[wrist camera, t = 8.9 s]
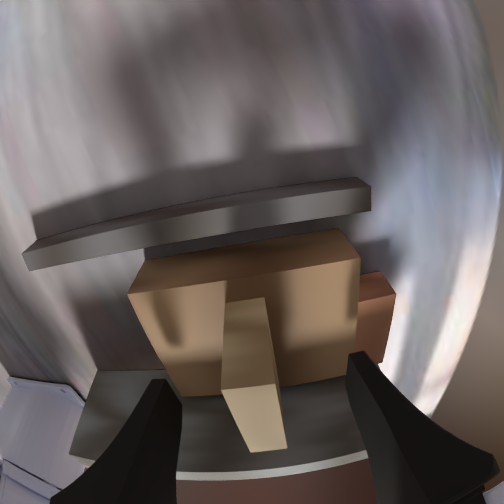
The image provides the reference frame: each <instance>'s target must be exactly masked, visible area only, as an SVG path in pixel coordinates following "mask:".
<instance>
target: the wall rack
mask: <svg viewBox="0 0 504 504" xmlns="http://www.w3.org/2000/svg"><path fill="white" fill-rule="evenodd" d="M367 211H371V186H369V185H368V184H366V183H365V182H363V181H362V180H360V179H359V178H357V177H353V178H344V179H335V180H327V181H319V182H311V183H304V184H297V185H289V186H283V187H276V188H269V189H263V190H257V191H251V192H245V193H239V194H233V195H227V196H222V197H216V198H211V199H206V200H201V201H195V202H190V203H185V204H180V205H176V206H171V207H166V208H161V209H157V210H152V211H148V212H143V213H139V214H135V215H130V216H126V217H122V218H118V219H114V220H110V221H106V222H102V223H98V224H94V225H90V226H86V227H82V228H79V229H75V230H71V231H68V232H64V233H61V234H57V235H54V236H50V237H47V238H43V239H40V240H37V241H35V242H34V243H33V244H32V245H31V246H30V247H29V248H27V249H26V250H25V251H24V252H23V253H22V256H23V258H24V261H25V263H26V265H27V267H28V269H29V271H33V270H38V269H42V268H47V267H52V266H56V265H61V264H66V263H71V262H76V261H81V260H85V259H90V258H95V257H100V256H105V255H111V254H116V253H121V252H126V251H131V250H137V249H142V248H147V247H152V246H158V245H163V244H169V243H174V242H180V241H185V240H191V239H197V238H202V237H208V236H214V235H220V234H226V233H231V232H237V231H243V230H249V229H255V228H262V227H268V226H274V225H280V224H287V223H293V222H299V221H306V220H312V219H319V218H326V217H332V216H339V215H346V214H353V213H360V212H367ZM395 298H396V293H395V291H394V290H393V288H392V287H391V286H390V284H389V283H388V282H387V280H386V279H385V277H384V276H383V275H382V273H381V272H380V271H378V272H373V273H368V274H363V275H360V286H359V301H358V314H357V325H356V335H355V344H354V353H355V352H359V351H365V352H366V353H367V354H368V356H369V357H370V358H371V359H372V361H373V362H374V363H375V364H376V366H377V367H378V368H379V366H378V364H379V363H382V362H383V358H384V354H385V349H386V345H387V341H388V336H389V331H390V326H391V321H392V316H393V310H394V304H395ZM379 369H380V368H379ZM165 378H166V380H167V381H168V383H169V385H170V386H171V388H172V390H173V391H174V393H175V394H176V396H177V397H178V399H179V401H180V402H181V404H182V432H181V440H180V447H179V455H178V462H177V471H176V479H182V480H241V479H255V478H265V477H266V478H267V477H276V476H284V475H291V474H298V473H304V472H309V471H315V470H320V469H325V468H329V467H334V466H338V465H343V464H347V463H351V462H354V461H358V460H361V459H365V458H368V455H367V451H366V448H365V445H364V442H363V440H362V437H361V434H360V431H359V429H358V426H357V423H356V420H355V418H354V415H353V412H352V409H351V407H350V403H349V399H348V395H347V391H346V386H345V379H346V375H342V376H338V377H334V378H329V379H324V380H319V381H314V382H309V383H304V384H298V385H292V386H286V387H280V395H281V403H282V410H283V418H284V426H285V433H286V441H287V448H286V449H279V450H271V451H262V452H250V450H249V448H248V446H247V444H246V442H245V440H244V438H243V436H242V434H241V432H240V430H239V428H238V426H237V424H236V422H235V420H234V418H233V415H232V413H231V411H230V409H229V407H228V405H227V402H226V400H225V398H224V396H223V394H220V395H206V396H187V397H182V396H181V395H180V393H179V391H178V390H177V388H176V387H175V385H174V383H173V382H172V380H171V378H170V376H169V375H168V373H167V371H166V370H143V371H97V373H96V376H95V378H94V381H93V383H92V386H91V388H90V391H89V394H88V397H87V399H86V402H85V405H84V408H83V410H82V413H81V416H80V419H79V422H78V425H77V428H76V431H75V434H74V438H73V441H72V444H71V447H70V451H69V455H70V456H72V457H73V458H74V459H76V460H77V461H78V462H80V463H81V464H83V465H87V466H91V465H92V464H93V463H94V462H95V461H96V460H97V459H98V458H99V457H100V456H101V455H102V453H103V452H104V451H105V450H106V449H107V447H108V446H109V445H110V444H111V442H112V441H113V440H114V438H115V437H116V435H117V434H118V433H119V431H120V430H121V428H122V427H123V425H124V424H125V422H126V421H127V419H128V418H129V416H130V415H131V413H132V411H133V410H134V408H135V406H136V405H137V403H138V401H139V400H140V398H141V396H142V395H143V393H144V391H145V390H146V388H147V386H148V385H149V383H150V381H151V380H152V379H165Z"/></svg>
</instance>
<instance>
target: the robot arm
mask: <svg viewBox="0 0 504 504" xmlns="http://www.w3.org/2000/svg"><path fill="white" fill-rule="evenodd" d="M7 380H8V382H9V383H10V384H11V385H12V387H11V389H10V391H9V393H8V395H7V397H6V399H5V401H4V403H3V405H2V407H1V409H0V504H177V503H176V502H177V501H176V471H177V462H178V455H179V447H180V440H181V432H182V404H181V402H180V401H179V399H178V397H177V396H176V394H175V393H174V391H173V390H172V388H171V386H170V385H169V383H168V381H167V380H166V378H165V379H152V380H151V381H150V383H149V385H148V386H147V388H146V390H145V391H144V393H143V395H142V396H141V398H140V400H139V401H138V403H137V405H136V406H135V408H134V410H133V411H132V413H131V415H130V416H129V418H128V419H127V421H126V422H125V424H124V425H123V427H122V428H121V430H120V431H119V433H118V434H117V435H116V437H115V438H114V440H113V441H112V442H111V444H110V445H109V446H108V447H107V449H106V450H105V451H104V452H103V453H102V455H101V456H100V457H99V458H98V459H97V460H96V461H95V462H94V463H93V464H92V465H91V466H90V467H89V468H88V469H87V470H86V471H85V472H84V468H85V465H83V464H81V463H80V462H78V461H77V460H76V459H74V458H73V457H72V456H70V455H69V451H70V447H71V444H72V441H73V438H74V434H75V431H76V428H77V425H78V422H79V419H80V416H81V413H82V410H83V408H84V405H85V402H84V401H83V400H82V399H81V398H80V397H79V395H78V394H77V393H76V392H75V391H74V390H73V389H72V388H71V387H70V386H68V385H63V384H54V383H46V382H39V381H32V380H26V379H20V378H15V377H8V379H7ZM345 386H346V391H347V395H348V399H349V403H350V407H351V409H352V412H353V415H354V418H355V420H356V423H357V426H358V429H359V431H360V434H361V437H362V440H363V442H364V445H365V448H366V451H367V455H368V458H369V463H370V468H371V473H372V478H373V483H374V489H375V495H376V501H377V504H504V481H503V482H502V483H500V484H499V485H498V486H496V487H494V488H493V489H491V490H489V491H487V492H485V493H482V492H483V491H484V490H485V487H484V485H483V484H485V483H486V482H488V481H489V480H491V479H492V478H494V477H495V476H496V475H498V474H499V473H500V469H499V466H498V464H497V461H496V459H495V458H494V456H493V455H492V454H490V453H488V452H486V451H483V450H481V449H478V448H476V447H474V446H472V445H470V444H468V443H466V442H465V441H463V440H461V439H459V438H457V437H456V436H454V435H453V434H451V433H450V432H448V431H446V430H445V429H443V428H442V427H440V426H439V425H438V424H436V423H435V422H434V421H432V420H431V419H430V418H428V417H427V416H426V415H425V414H423V413H422V412H421V411H420V410H419V409H418V408H416V407H415V406H414V405H413V404H412V403H411V402H410V401H409V400H408V399H407V398H406V397H405V396H404V395H403V394H402V393H401V392H400V391H399V390H398V389H397V388H396V387H395V386H394V385H393V384H392V383H391V382H390V381H389V379H388V378H387V377H386V376H385V375H384V374H383V373H382V372H381V370H380V369H379V368H378V367H377V366H376V364H375V363H374V362H373V361H372V359H371V358H370V357H369V356H368V354H367V353H366V352H365V351H359V352H355V353H350V354H348V363H347V371H346V379H345Z"/></svg>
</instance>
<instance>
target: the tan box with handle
mask: <svg viewBox="0 0 504 504" xmlns="http://www.w3.org/2000/svg"><path fill="white" fill-rule="evenodd" d="M360 265H361V257H360V256H359V255H358V253H357V252H356V250H355V249H354V248H353V246H352V245H351V244H350V242H349V241H348V240H347V238H346V237H345V236H344V234H343V233H342V232H341V230H340V229H339V228H337V229H330V230H324V231H318V232H311V233H305V234H299V235H293V236H286V237H280V238H274V239H268V240H262V241H256V242H250V243H244V244H238V245H232V246H226V247H220V248H214V249H208V250H202V251H196V252H190V253H184V254H178V255H173V256H167V257H161V258H155V259H149V260H145V261H144V263H143V265H142V267H141V269H140V270H139V272H138V274H137V276H136V278H135V280H134V282H133V284H132V286H131V288H130V290H129V292H128V293H127V295H128V297H129V300H130V302H131V304H132V306H133V308H134V310H135V312H136V315H137V317H138V319H139V321H140V323H141V325H142V327H143V329H144V331H145V333H146V335H147V336H148V338H149V340H150V342H151V344H152V346H153V348H154V350H155V352H156V353H157V355H158V357H159V359H160V361H161V362H162V364H163V366H164V368H165V370H166V371H167V373H168V375H169V376H170V378H171V380H172V382H173V383H174V385H175V387H176V388H177V390H178V391H179V393H180V395H181V396H182V397H187V396H206V395H220V394H223V396H224V398H225V400H226V402H227V405H228V407H229V409H230V411H231V413H232V415H233V418H234V420H235V422H236V424H237V426H238V428H239V430H240V432H241V434H242V436H243V438H244V440H245V442H246V444H247V446H248V448H249V450H250V452H262V451H271V450H279V449H286V448H287V441H286V433H285V426H284V418H283V410H282V403H281V395H280V387H286V386H292V385H298V384H304V383H309V382H314V381H319V380H324V379H329V378H334V377H338V376H342V375H346V371H347V363H348V354H350V353H354V344H355V335H356V325H357V314H358V301H359V286H360Z"/></svg>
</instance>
